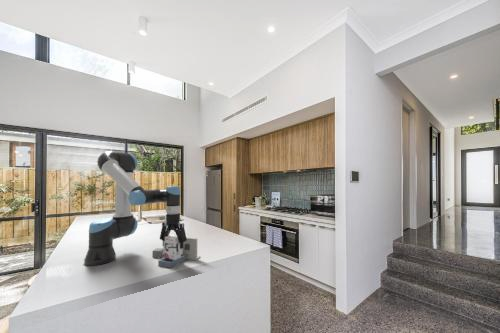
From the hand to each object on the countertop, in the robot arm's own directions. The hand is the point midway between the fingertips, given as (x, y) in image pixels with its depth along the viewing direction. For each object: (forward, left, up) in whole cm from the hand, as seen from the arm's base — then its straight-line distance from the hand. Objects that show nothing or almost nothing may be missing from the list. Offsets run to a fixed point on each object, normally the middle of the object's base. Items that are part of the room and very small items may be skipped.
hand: (172, 253), depth 123 cm
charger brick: (-16, +6, -5) cm, 18 cm away
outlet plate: (0, +10, -5) cm, 11 cm away
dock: (0, 0, -5) cm, 5 cm away
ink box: (0, 0, -3) cm, 3 cm away
